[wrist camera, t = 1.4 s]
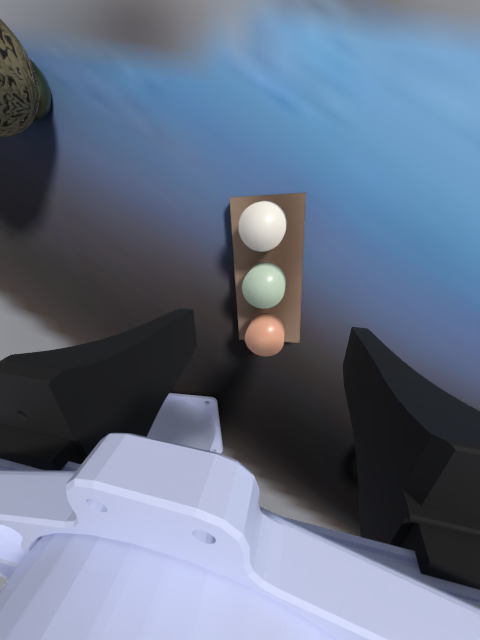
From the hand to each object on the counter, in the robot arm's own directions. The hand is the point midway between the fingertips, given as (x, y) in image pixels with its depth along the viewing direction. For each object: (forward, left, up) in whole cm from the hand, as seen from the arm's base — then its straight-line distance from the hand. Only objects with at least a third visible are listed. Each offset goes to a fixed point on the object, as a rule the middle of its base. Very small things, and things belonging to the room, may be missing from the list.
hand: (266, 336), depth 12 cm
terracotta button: (-1, -3, -7) cm, 8 cm away
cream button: (-1, +4, -7) cm, 9 cm away
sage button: (-1, 0, -7) cm, 7 cm away
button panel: (-1, 0, -10) cm, 10 cm away
